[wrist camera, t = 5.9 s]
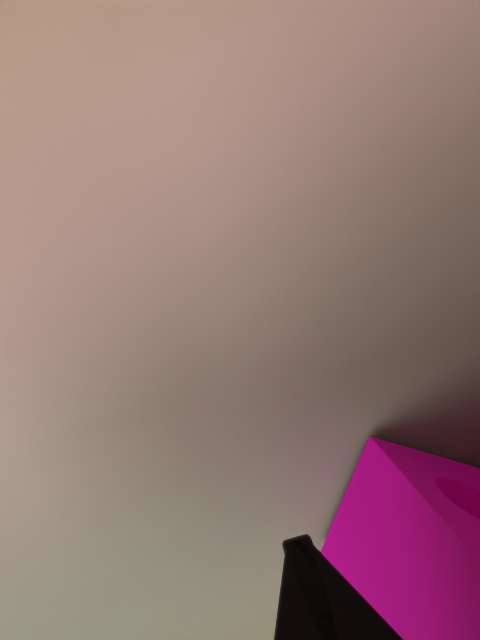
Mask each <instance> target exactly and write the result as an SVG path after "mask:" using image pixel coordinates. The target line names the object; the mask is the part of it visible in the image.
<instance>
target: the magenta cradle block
mask: <svg viewBox="0 0 480 640" xmlns="http://www.w3.org/2000/svg"><path fill="white" fill-rule="evenodd" d="M321 553H322V554H323V555H324V557H325V558H326V559H327V560H328V561H329V562H330V563H331V564H332V565H333V566H334V567H335V568H336V569H337V570H338V571H339V572H340V573H341V574H342V575H343V576H344V578H345V579H346V580H347V581H348V582H349V583H350V584H351V585H352V586H353V587H354V588H355V589H356V590H357V591H358V592H359V593H360V594H361V595H362V596H363V598H364V599H365V600H366V601H367V602H368V603H369V604H370V605H371V606H372V607H373V608H374V609H375V610H376V611H377V612H378V613H379V614H380V615H381V616H382V618H383V619H384V620H385V621H386V622H387V623H388V624H389V625H390V626H391V627H392V628H393V629H394V630H395V631H396V632H397V633H398V634H399V635H400V636H401V637H402V639H403V640H480V468H478V467H474V466H471V465H467V464H464V463H460V462H457V461H453V460H450V459H447V458H443V457H440V456H436V455H433V454H429V453H426V452H423V451H419V450H416V449H412V448H409V447H405V446H402V445H398V444H395V443H392V442H388V441H385V440H381V439H378V438H374V437H371V436H370V437H369V439H368V442H367V444H366V446H365V449H364V451H363V453H362V456H361V458H360V460H359V463H358V465H357V468H356V470H355V472H354V475H353V477H352V479H351V482H350V484H349V486H348V489H347V491H346V494H345V496H344V498H343V501H342V503H341V505H340V508H339V510H338V512H337V515H336V517H335V520H334V522H333V524H332V527H331V529H330V531H329V534H328V536H327V538H326V541H325V543H324V546H323V548H322V550H321Z"/></svg>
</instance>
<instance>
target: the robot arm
mask: <svg viewBox="0 0 480 640" xmlns="http://www.w3.org/2000/svg"><path fill="white" fill-rule="evenodd" d="M282 546H283V550H284V554H285V557H284V565H283V573H282V581H281V588H280V596H279V604H278V612H277V620H276V628H275V635H274V640H403V639H402V637H401V636H400V635H399V634H398V633H397V632H396V631H395V630H394V629H393V628H392V627H391V626H390V625H389V624H388V623H387V622H386V621H385V620H384V619H383V618H382V616H381V615H380V614H379V613H378V612H377V611H376V610H375V609H374V608H373V607H372V606H371V605H370V604H369V603H368V602H367V601H366V600H365V599H364V598H363V596H362V595H361V594H360V593H359V592H358V591H357V590H356V589H355V588H354V587H353V586H352V585H351V584H350V583H349V582H348V581H347V580H346V579H345V578H344V576H343V575H342V574H341V573H340V572H339V571H338V570H337V569H336V568H335V567H334V566H333V565H332V564H331V563H330V562H329V561H328V560H327V559H326V558H325V557H324V555H323V554H322V553H321V552H320V551H319V550H318V549H317V548H316V547H315V546H314V545H313V542H312V540H311V537H310V536H309V535H307V534H305V535H301V536H297V537H294V538H290V539H287V540H284V541H283V544H282Z"/></svg>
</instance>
